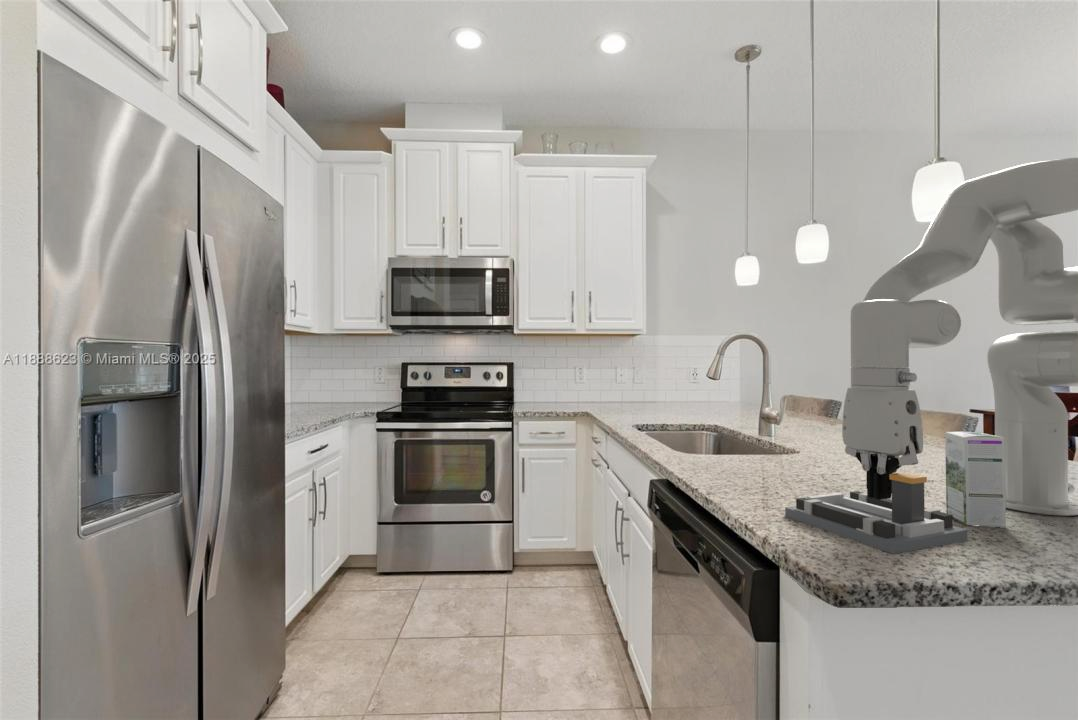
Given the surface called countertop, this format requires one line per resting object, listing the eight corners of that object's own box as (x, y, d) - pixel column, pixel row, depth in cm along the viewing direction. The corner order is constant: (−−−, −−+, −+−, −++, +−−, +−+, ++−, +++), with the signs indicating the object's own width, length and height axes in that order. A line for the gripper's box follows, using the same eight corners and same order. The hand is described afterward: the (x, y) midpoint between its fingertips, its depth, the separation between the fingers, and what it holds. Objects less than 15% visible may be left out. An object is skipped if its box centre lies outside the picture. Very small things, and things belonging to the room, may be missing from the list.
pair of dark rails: (858, 501, 89) (858, 489, 89) (954, 526, 75) (954, 513, 75) (794, 509, 84) (794, 497, 84) (884, 539, 70) (884, 524, 70)
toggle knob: (904, 522, 76) (903, 472, 76) (926, 529, 73) (926, 476, 73) (889, 524, 75) (889, 473, 75) (912, 531, 72) (911, 478, 72)
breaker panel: (852, 507, 91) (852, 489, 91) (967, 539, 74) (967, 518, 74) (785, 516, 85) (785, 498, 85) (893, 554, 68) (893, 531, 68)
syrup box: (1008, 528, 79) (1007, 436, 79) (964, 526, 80) (964, 435, 80) (983, 517, 85) (983, 431, 85) (943, 515, 86) (943, 430, 86)
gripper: (948, 381, 72) (948, 508, 72) (851, 378, 86) (851, 484, 86) (912, 381, 70) (913, 513, 70) (819, 378, 84) (819, 488, 84)
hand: (879, 497), depth 78 cm, fingers closed
